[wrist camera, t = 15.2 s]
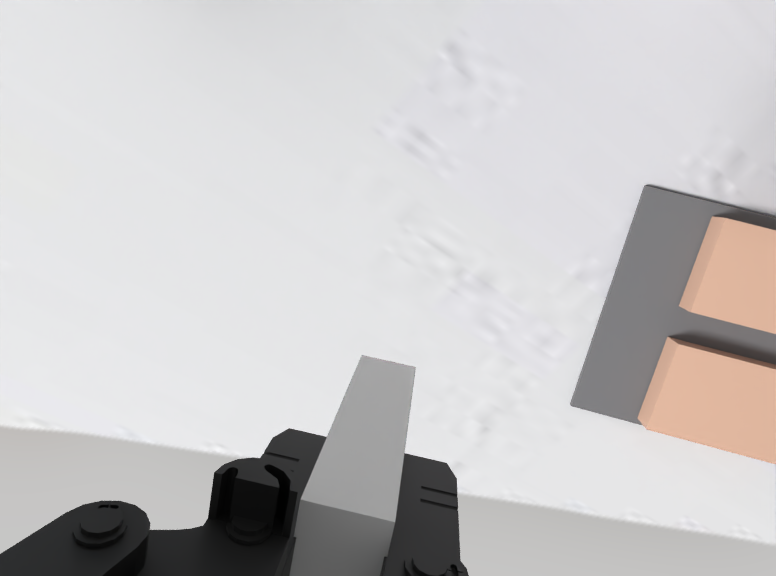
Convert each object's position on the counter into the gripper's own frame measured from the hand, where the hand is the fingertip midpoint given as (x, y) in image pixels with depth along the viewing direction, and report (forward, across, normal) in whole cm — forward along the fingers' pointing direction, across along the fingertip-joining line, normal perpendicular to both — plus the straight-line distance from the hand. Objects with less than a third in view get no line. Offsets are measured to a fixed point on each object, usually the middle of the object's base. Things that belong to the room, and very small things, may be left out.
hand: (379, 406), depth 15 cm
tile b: (+27, +20, -6) cm, 34 cm away
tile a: (+28, +20, +3) cm, 34 cm away
